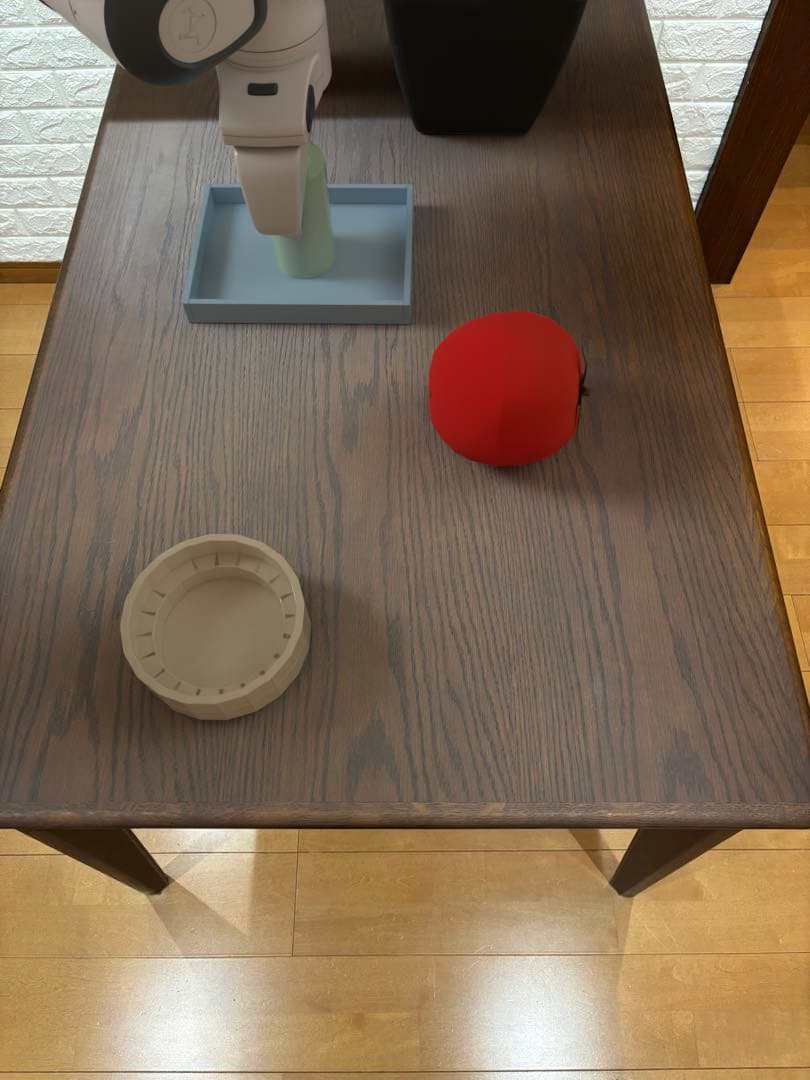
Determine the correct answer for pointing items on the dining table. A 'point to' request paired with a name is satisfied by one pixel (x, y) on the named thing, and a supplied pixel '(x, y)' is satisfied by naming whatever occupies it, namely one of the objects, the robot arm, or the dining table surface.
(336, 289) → the tray
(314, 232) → the bottle
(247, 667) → the bowl
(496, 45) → the flower pot
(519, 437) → the tomato
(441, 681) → the dining table surface
